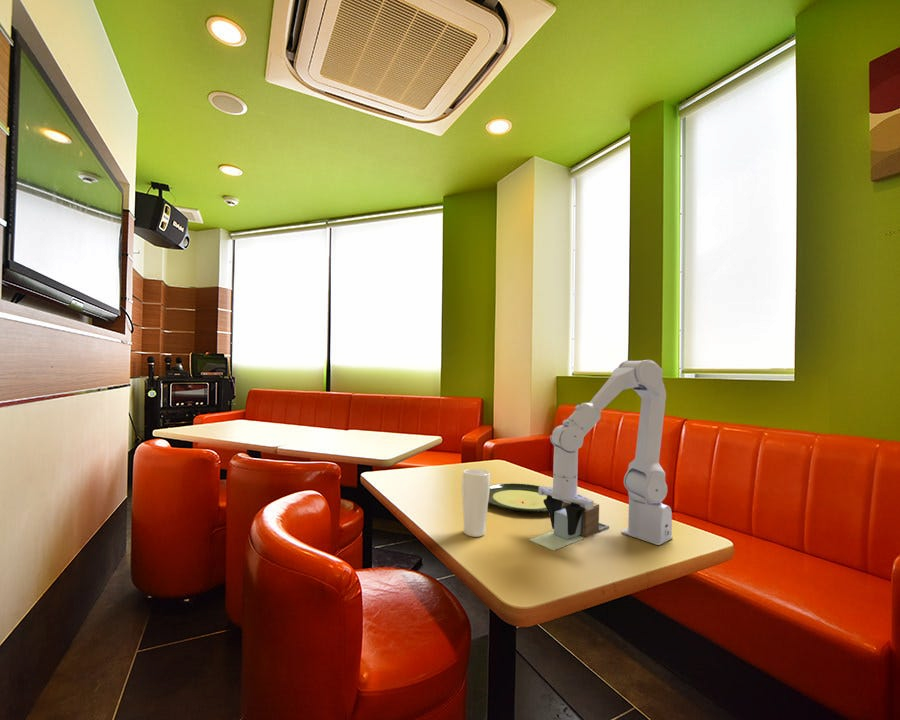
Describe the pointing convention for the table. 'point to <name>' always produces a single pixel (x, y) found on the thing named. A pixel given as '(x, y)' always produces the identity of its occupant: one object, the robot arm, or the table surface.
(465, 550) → the table surface
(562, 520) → the pale grey rectangular block
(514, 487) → the plate
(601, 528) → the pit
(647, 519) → the robot arm
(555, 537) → the pad
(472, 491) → the drinking glass
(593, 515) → the tunnel
